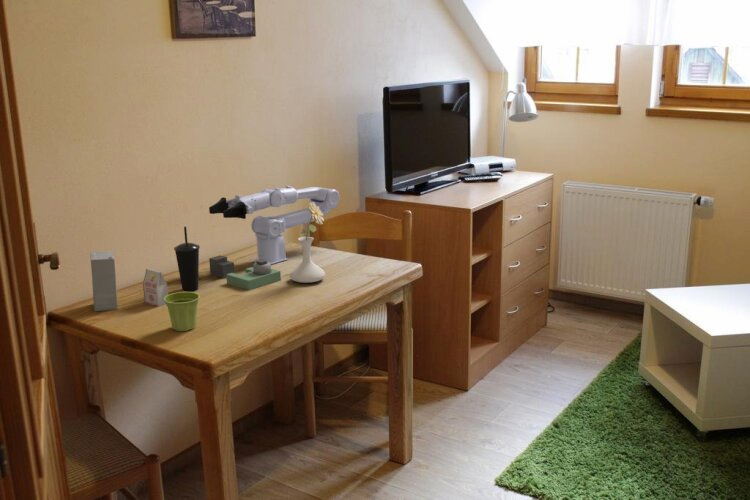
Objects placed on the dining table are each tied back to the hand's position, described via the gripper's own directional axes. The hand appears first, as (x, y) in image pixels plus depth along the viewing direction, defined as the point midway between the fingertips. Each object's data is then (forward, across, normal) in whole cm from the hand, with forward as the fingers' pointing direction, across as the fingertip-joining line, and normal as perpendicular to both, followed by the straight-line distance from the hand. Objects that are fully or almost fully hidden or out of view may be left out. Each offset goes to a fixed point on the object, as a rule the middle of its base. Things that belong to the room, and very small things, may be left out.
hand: (216, 212), depth 251 cm
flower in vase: (-14, +28, +21) cm, 37 cm away
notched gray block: (+1, +2, +21) cm, 21 cm away
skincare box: (+42, +2, +19) cm, 46 cm away
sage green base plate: (-1, +16, +20) cm, 26 cm away
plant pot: (+37, +35, +18) cm, 54 cm away
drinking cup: (+17, +7, +20) cm, 27 cm away
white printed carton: (+31, +10, +19) cm, 38 cm away
